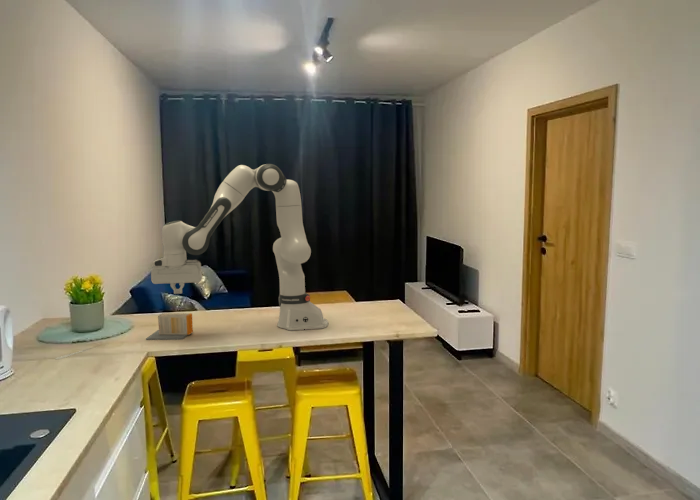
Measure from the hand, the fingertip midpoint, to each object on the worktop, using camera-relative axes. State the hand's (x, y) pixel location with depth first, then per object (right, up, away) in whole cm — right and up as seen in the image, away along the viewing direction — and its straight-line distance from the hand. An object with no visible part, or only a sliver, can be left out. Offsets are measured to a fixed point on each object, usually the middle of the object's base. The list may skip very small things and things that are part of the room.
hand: (178, 293), depth 214 cm
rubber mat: (-4, -18, +2) cm, 18 cm away
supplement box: (+5, -13, +2) cm, 14 cm away
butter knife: (-30, -21, -16) cm, 40 cm away
